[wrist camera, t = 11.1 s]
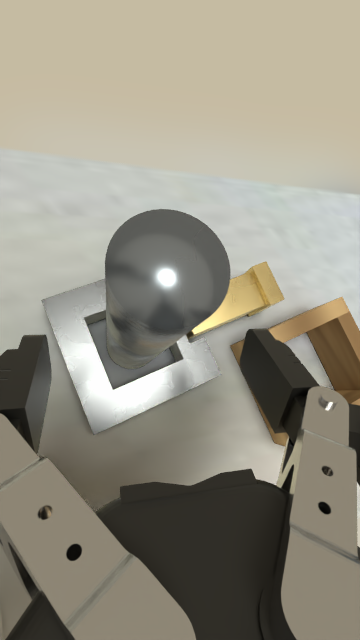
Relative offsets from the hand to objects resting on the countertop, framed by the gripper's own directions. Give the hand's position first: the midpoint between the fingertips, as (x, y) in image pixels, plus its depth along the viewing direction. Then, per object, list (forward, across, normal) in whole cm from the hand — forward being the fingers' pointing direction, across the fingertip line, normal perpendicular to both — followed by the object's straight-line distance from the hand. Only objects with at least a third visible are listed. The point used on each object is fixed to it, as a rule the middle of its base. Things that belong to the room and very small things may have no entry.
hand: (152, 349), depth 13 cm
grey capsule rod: (+9, 0, +6) cm, 11 cm away
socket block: (+9, 0, +6) cm, 11 cm away
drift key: (+10, -7, +4) cm, 13 cm away
